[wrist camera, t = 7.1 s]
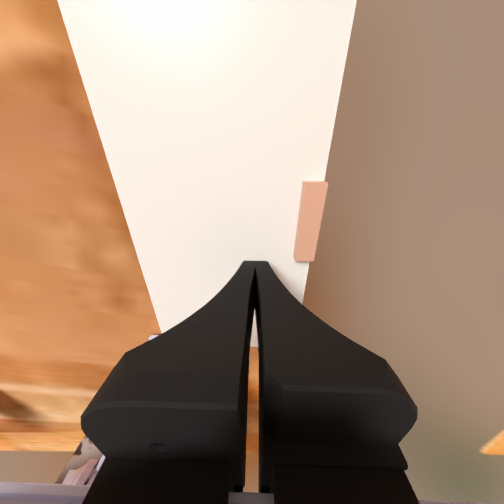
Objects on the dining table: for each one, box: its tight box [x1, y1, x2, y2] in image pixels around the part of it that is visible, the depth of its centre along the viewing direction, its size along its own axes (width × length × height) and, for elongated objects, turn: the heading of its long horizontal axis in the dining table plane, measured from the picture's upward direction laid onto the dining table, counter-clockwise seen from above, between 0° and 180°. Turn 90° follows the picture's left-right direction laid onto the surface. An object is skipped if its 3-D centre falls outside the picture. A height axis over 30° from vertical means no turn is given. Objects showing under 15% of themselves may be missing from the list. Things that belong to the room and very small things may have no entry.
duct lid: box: [57, 0, 357, 347], centre depth 10 cm, size 20×10×1 cm, turn 179°
